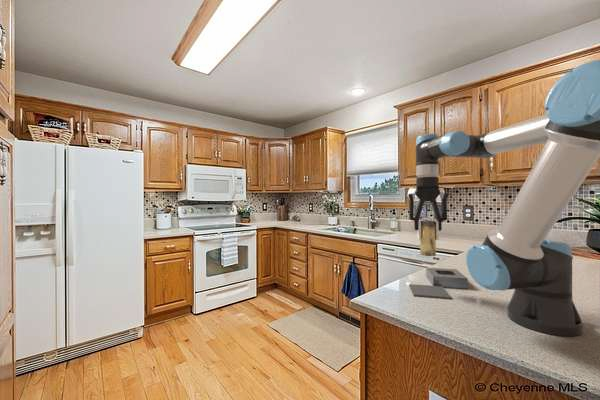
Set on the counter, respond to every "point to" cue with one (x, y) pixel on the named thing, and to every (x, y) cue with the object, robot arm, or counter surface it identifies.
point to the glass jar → (428, 238)
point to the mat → (429, 291)
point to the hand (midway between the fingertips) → (427, 239)
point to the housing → (446, 278)
